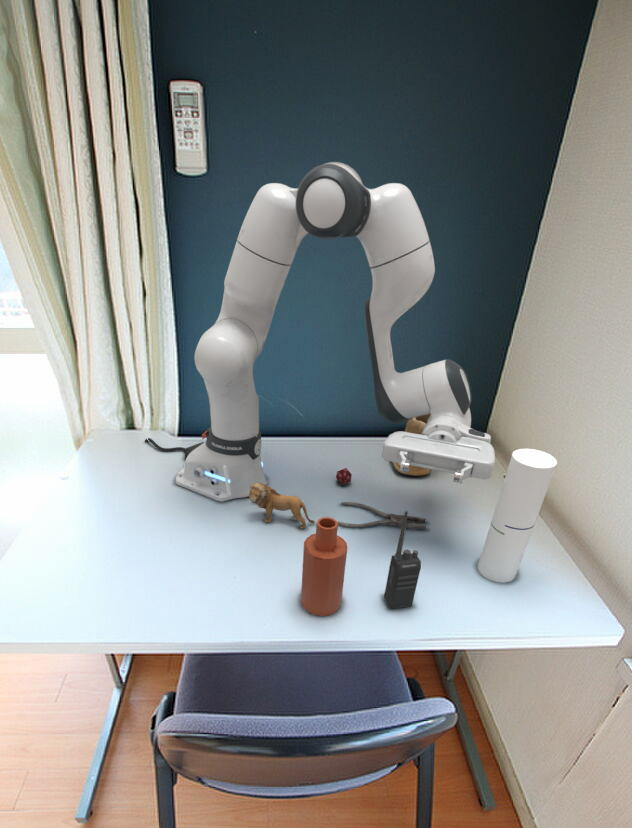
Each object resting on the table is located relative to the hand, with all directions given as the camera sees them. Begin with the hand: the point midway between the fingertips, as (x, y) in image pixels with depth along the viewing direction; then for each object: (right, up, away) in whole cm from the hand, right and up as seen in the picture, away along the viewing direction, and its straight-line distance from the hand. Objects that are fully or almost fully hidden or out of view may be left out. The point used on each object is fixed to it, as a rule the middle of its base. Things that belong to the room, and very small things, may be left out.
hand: (430, 473), depth 91 cm
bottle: (-19, -23, +2) cm, 30 cm away
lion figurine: (-27, -9, +23) cm, 37 cm away
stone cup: (+8, +7, +46) cm, 48 cm away
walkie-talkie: (-5, -23, +3) cm, 24 cm away
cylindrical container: (+16, -18, +11) cm, 27 cm away
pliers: (-4, -7, +26) cm, 27 cm away
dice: (-11, +1, +38) cm, 39 cm away
